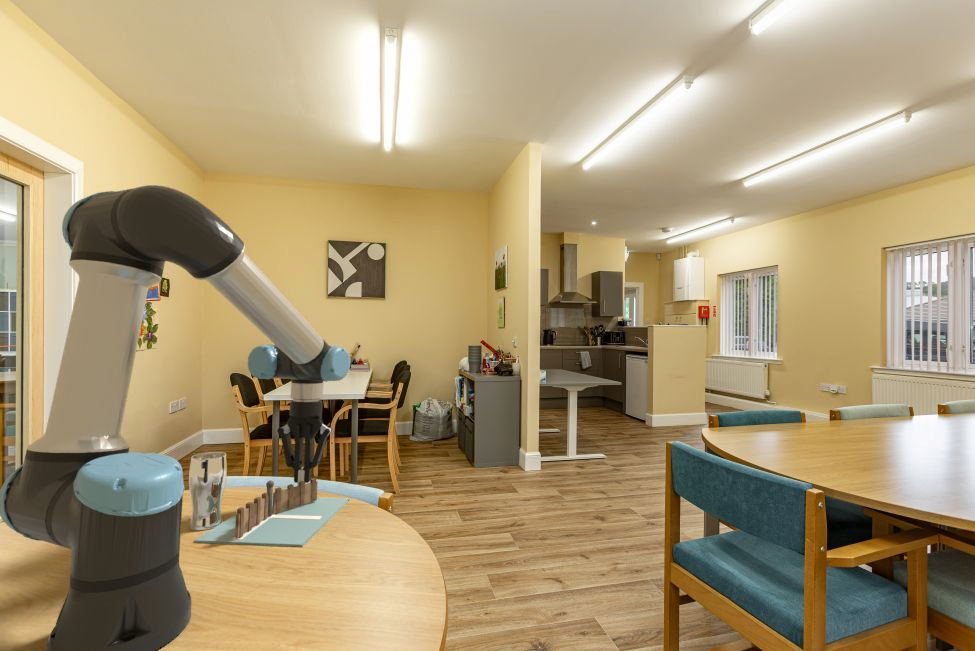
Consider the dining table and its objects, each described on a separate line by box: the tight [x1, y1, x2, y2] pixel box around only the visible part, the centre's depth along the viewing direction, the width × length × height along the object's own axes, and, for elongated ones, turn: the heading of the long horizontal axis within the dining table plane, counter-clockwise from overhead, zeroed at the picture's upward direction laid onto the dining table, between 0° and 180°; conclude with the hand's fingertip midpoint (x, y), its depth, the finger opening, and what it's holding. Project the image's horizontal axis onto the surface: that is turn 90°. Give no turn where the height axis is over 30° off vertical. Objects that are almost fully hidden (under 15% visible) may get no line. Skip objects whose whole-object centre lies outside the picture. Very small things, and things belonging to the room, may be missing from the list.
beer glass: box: [188, 451, 228, 532], centre depth 96 cm, size 7×7×15 cm
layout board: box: [193, 496, 350, 548], centre depth 100 cm, size 26×22×1 cm
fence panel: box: [273, 477, 318, 513], centre depth 105 cm, size 11×1×5 cm, turn 144°
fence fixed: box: [235, 480, 275, 538], centre depth 95 cm, size 13×2×8 cm, turn 177°
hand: (301, 495), depth 109 cm, fingers closed
